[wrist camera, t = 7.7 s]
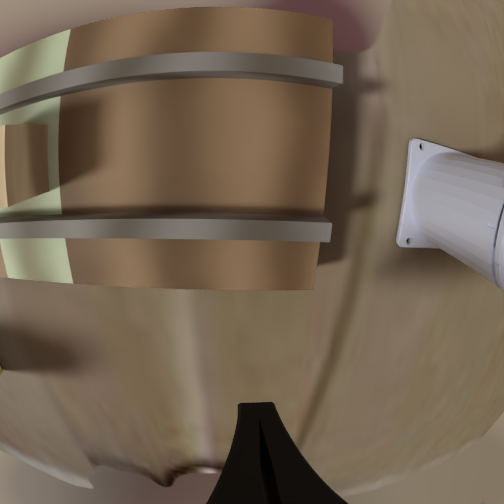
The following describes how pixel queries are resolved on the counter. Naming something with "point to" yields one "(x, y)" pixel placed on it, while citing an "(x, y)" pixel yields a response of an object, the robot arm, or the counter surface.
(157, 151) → the lane deck
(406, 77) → the counter surface
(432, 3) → the counter surface
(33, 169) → the birch block
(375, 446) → the counter surface
